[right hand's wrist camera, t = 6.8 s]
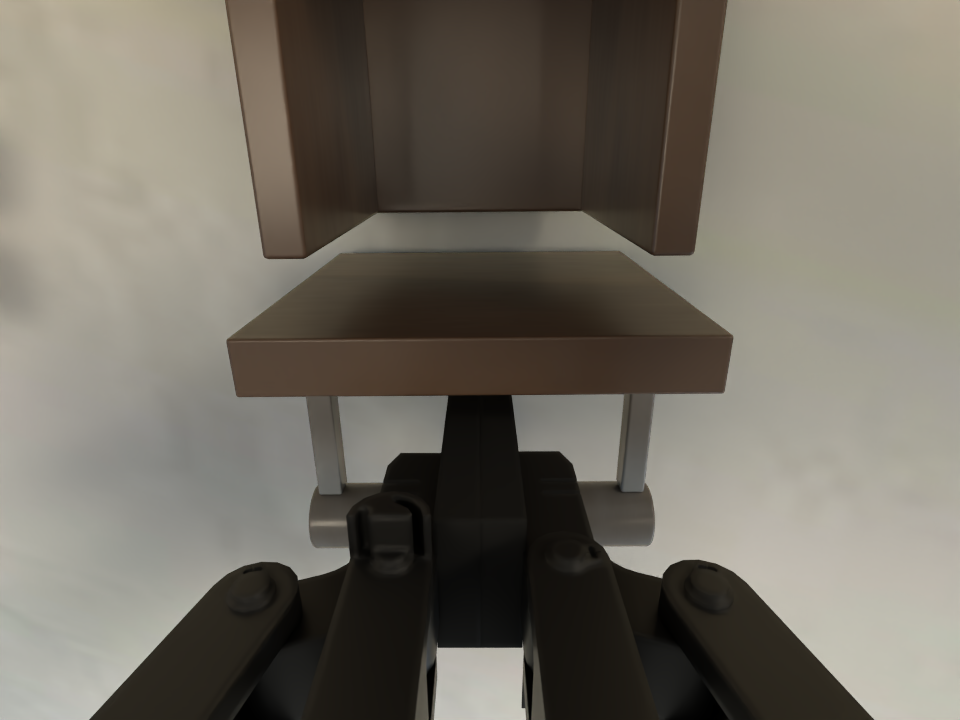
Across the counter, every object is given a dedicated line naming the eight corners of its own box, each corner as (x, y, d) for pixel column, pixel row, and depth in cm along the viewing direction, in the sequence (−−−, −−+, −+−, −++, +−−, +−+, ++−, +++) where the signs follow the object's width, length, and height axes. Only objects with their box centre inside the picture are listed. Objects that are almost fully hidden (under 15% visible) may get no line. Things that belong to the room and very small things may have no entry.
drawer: (606, 426, 21) (689, 611, 13) (357, 428, 21) (275, 613, 13) (668, -328, 13) (973, -1098, 5) (282, -322, 13) (-40, -1079, 5)
